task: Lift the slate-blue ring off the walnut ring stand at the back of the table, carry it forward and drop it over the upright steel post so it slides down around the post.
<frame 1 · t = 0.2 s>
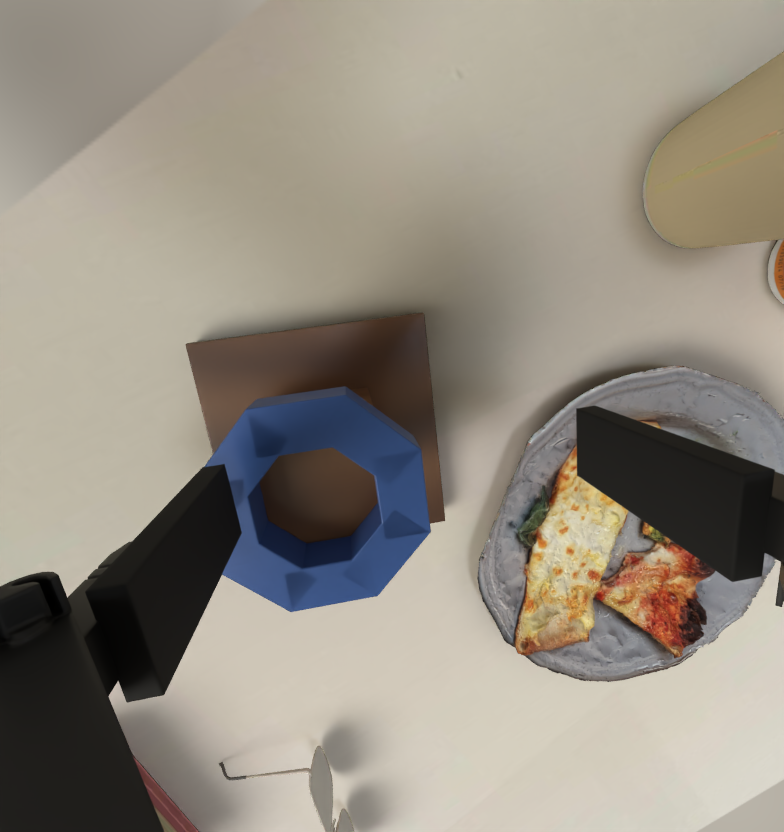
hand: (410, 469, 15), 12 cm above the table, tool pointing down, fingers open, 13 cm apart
ring: (319, 489, 18), point 9 cm above the table, touching platform
platform: (328, 433, 27), on the table
book: (76, 818, 32), on the table
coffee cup: (695, 185, 26), on the table
food plate: (622, 526, 31), on the table
eyeglasses: (293, 800, 34), on the table
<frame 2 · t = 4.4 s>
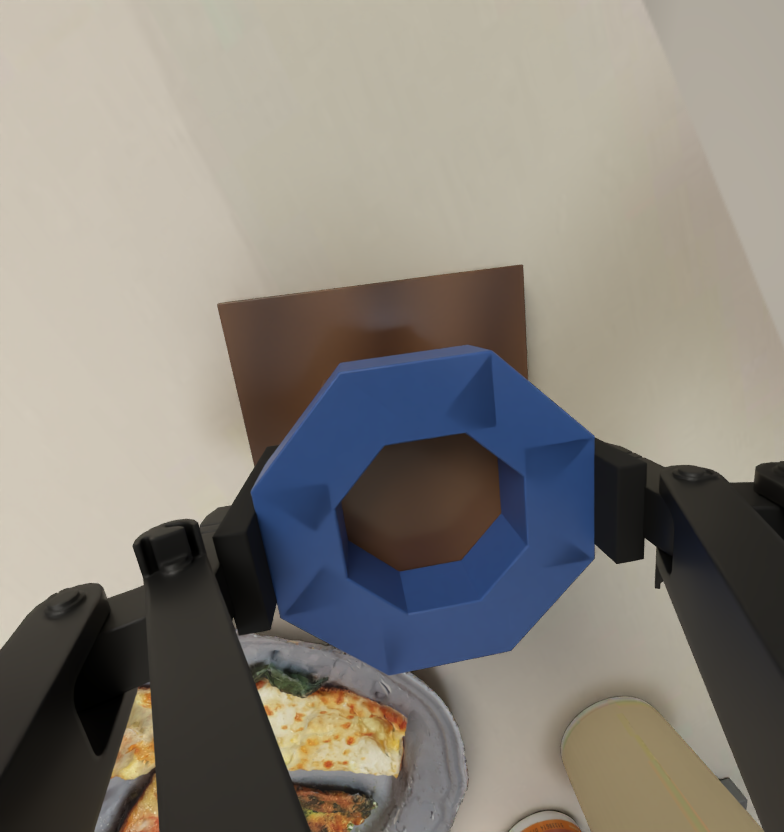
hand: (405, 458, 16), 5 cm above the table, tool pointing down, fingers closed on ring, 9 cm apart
ring: (421, 496, 13), point 9 cm above the table, touching gripper, platform
platform: (390, 422, 21), on the table
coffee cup: (608, 735, 29), on the table
food plate: (263, 761, 26), on the table
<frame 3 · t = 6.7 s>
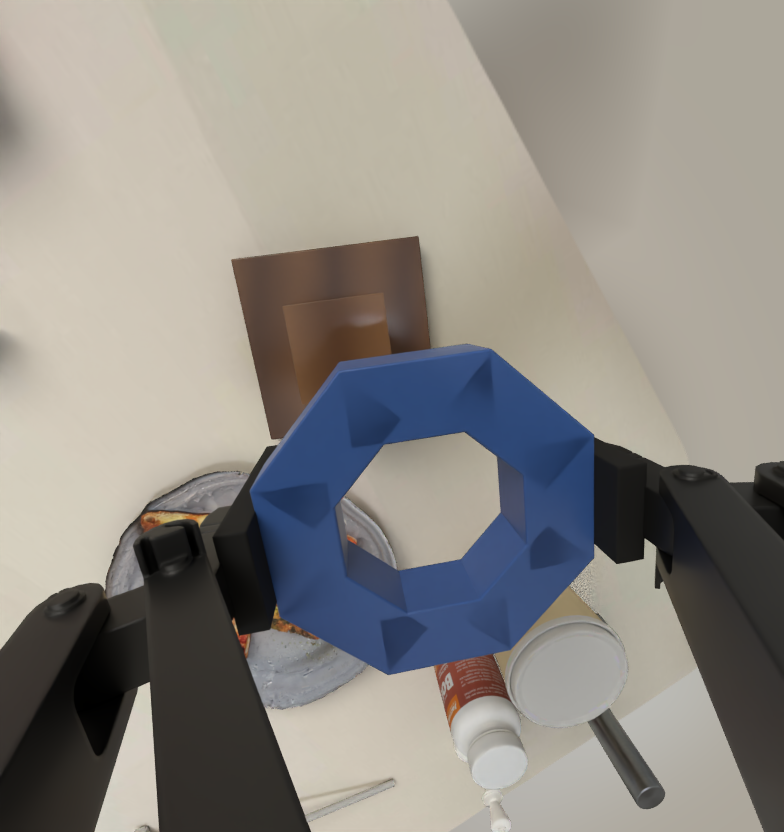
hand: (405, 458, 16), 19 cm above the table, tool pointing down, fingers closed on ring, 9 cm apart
ring: (421, 495, 13), point 22 cm above the table, touching gripper
platform: (342, 340, 33), on the table
post: (560, 655, 44), on the table
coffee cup: (506, 576, 41), on the table
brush: (263, 808, 45), on the table
food plate: (262, 583, 38), on the table
chess piece: (474, 738, 46), on the table
pill bottle: (460, 652, 43), on the table
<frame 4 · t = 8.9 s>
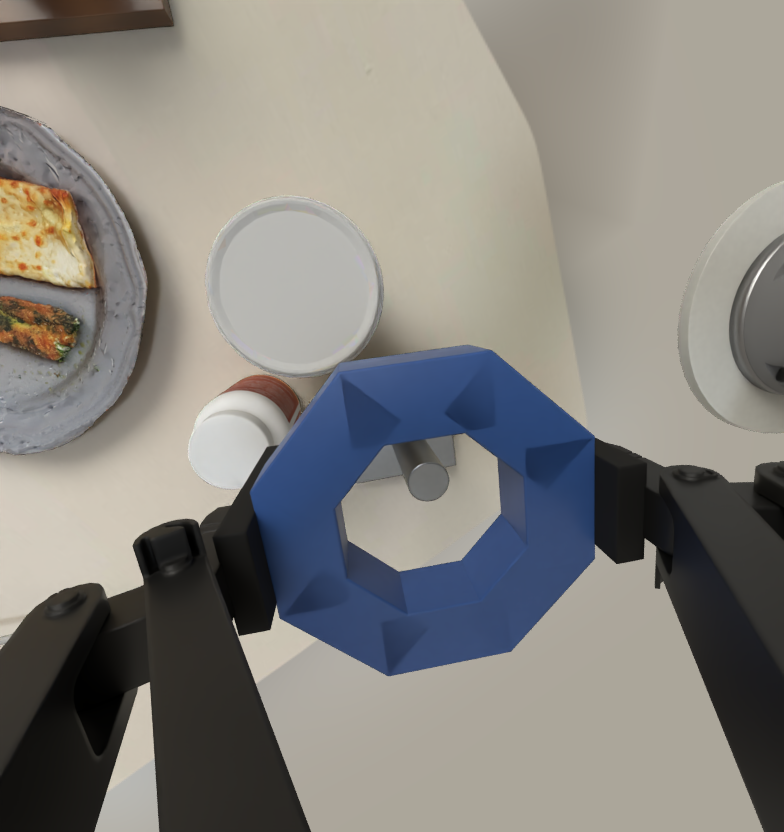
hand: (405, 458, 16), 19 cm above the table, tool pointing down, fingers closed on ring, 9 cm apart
ring: (421, 496, 13), point 23 cm above the table, touching gripper
post: (397, 421, 36), on the table
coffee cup: (312, 299, 32), on the table
pill bottle: (265, 409, 34), on the table
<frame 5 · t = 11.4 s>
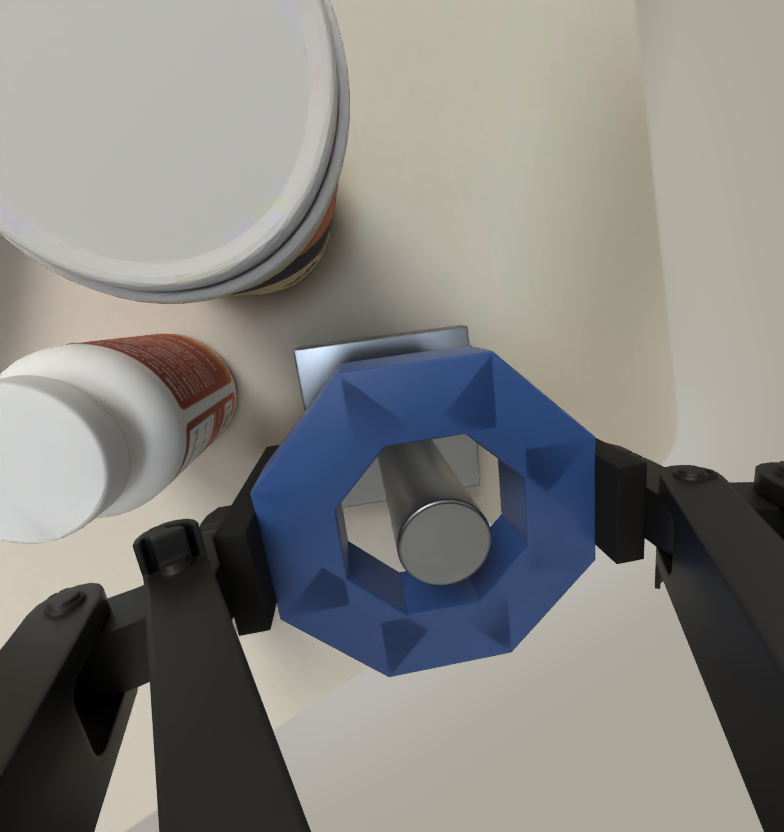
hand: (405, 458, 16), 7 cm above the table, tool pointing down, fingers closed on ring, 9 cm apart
ring: (422, 497, 13), point 11 cm above the table, touching gripper
post: (390, 415, 23), on the table
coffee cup: (254, 213, 20), on the table
pill bottle: (181, 391, 22), on the table
when the fingers open (2 cm above the table, at t = 13.4 s): ring drops 5 cm, resting on post.
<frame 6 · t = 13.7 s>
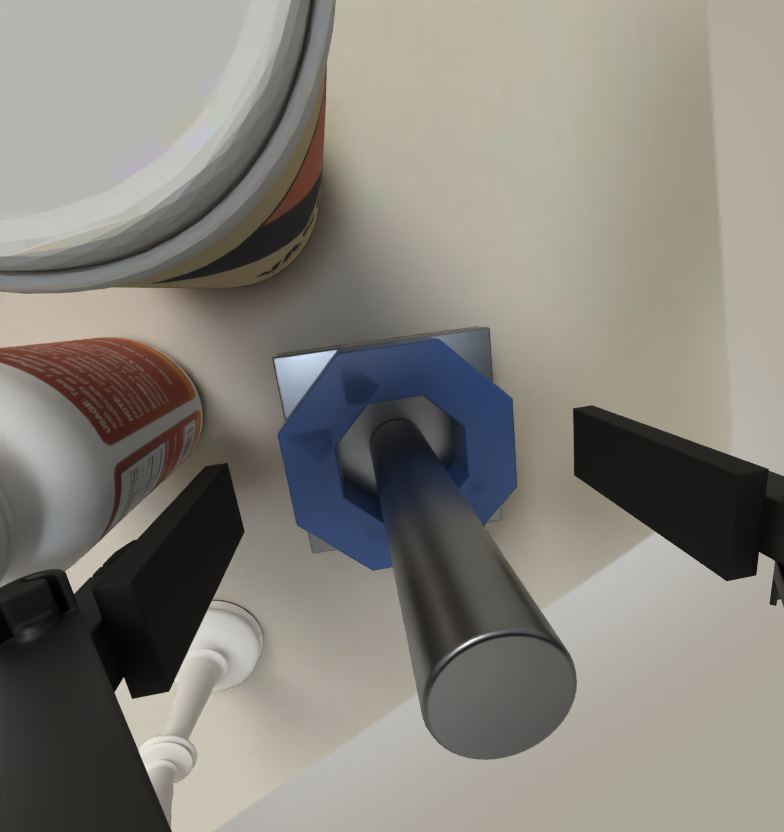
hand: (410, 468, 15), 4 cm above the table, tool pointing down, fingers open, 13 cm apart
ring: (397, 446, 17), point 1 cm above the table, touching post
post: (392, 435, 19), on the table
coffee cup: (222, 185, 16), on the table
chess piece: (214, 638, 21), on the table
pill bottle: (134, 409, 17), on the table
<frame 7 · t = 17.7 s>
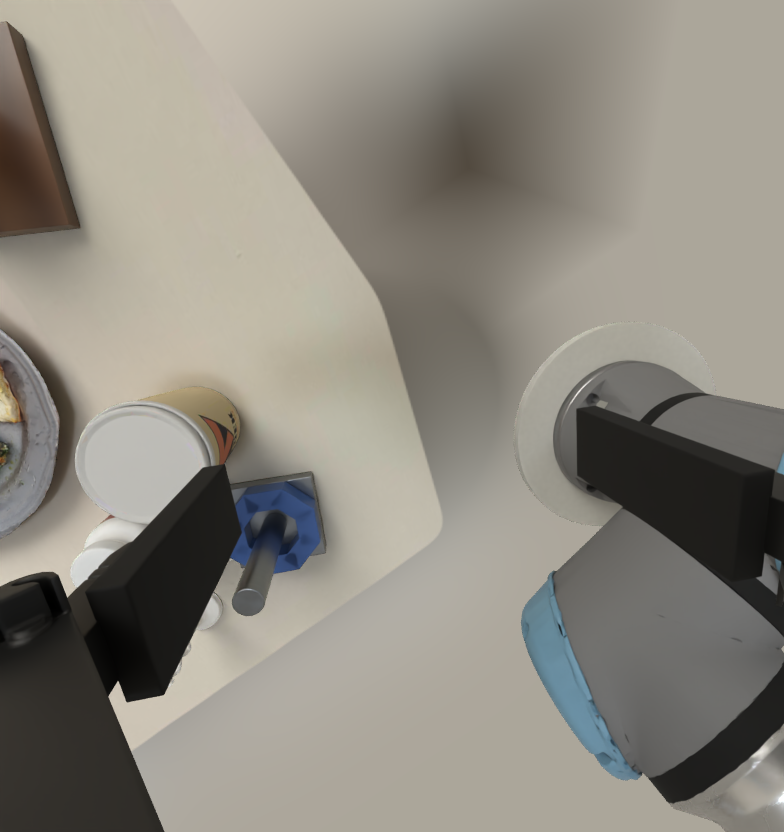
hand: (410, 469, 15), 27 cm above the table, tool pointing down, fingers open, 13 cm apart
ring: (275, 523, 42), point 1 cm above the table, touching post
post: (277, 516, 43), on the table
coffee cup: (201, 423, 40), on the table
chess piece: (200, 606, 45), on the table
pill bottle: (165, 507, 42), on the table
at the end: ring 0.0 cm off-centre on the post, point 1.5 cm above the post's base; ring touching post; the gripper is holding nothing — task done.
